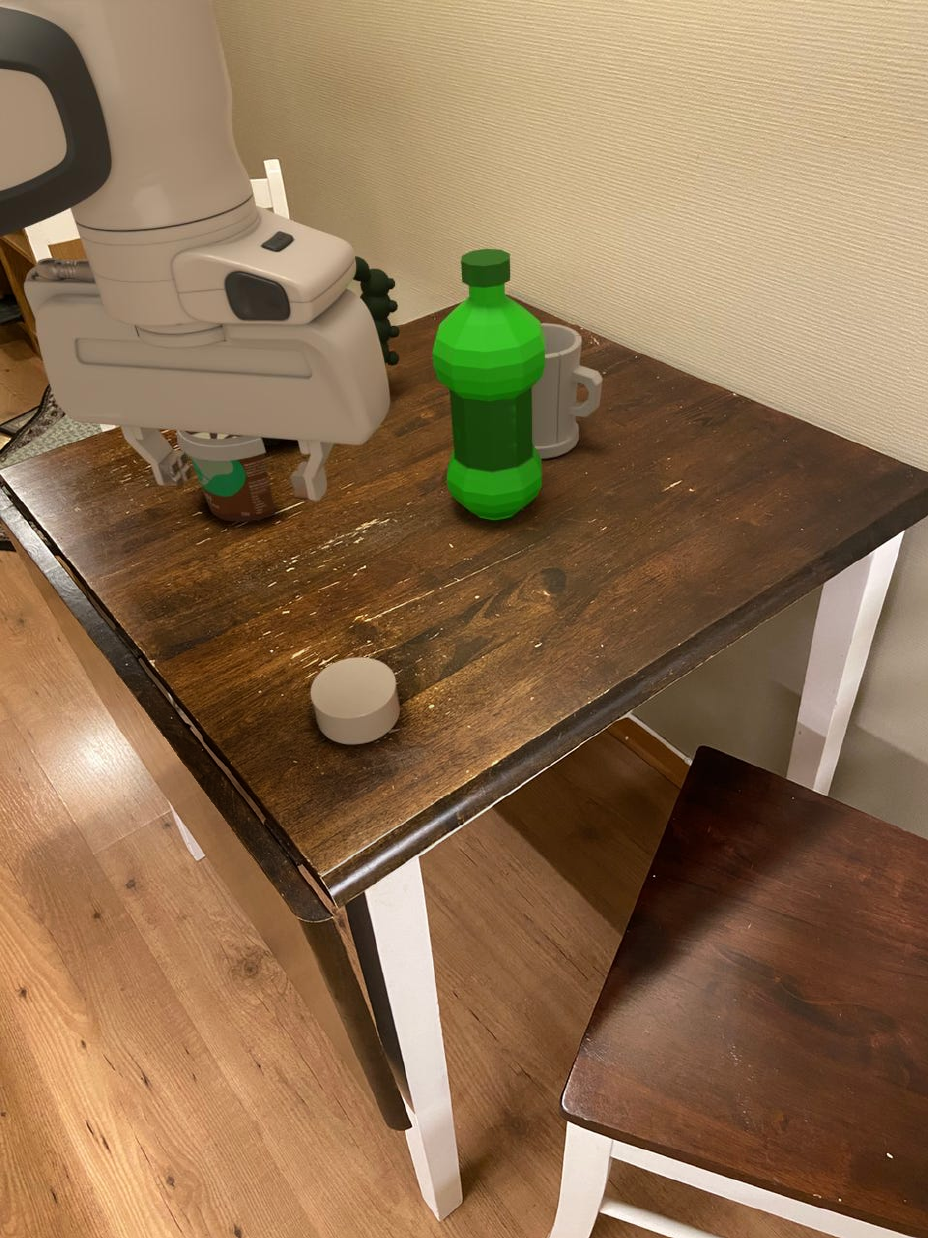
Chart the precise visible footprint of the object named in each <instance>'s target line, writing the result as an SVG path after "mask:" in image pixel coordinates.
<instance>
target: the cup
mask: <svg viewBox="0 0 928 1238" xmlns="http://www.w3.org/2000/svg"><path fill="white" fill-rule="evenodd" d="M540 323H541V322H540ZM541 326H542V328H543V331H544V333H545V366H544V371H543V375H542V377H541V378H540V379H539V380H538V381H537V382H536V383H535V384H534V385H533V386H532V443H533V445H534V446H535V448H536V449H537V451H538V453H539V455H540V457H541V460H545V459H546V460H547V459H551V458H557V457H559V456H563V455H565V454H566V453H568V452H569V451H571V450H572V449H574V448H575V447H576V445H577V444H578V442H579V440H580V429H579V424H578V422H577V421H576V417H580V418H581V417H582V418H587V417H589V416H590V415H591V414H592V413H593V412H595V411H596V410H598V409H599V407H600V405H601V396H602V388H603V387H602V386H603V380H604V379H603V376H602V375H601V374H600V372H599V371H598V370H596V369H592V368H589V367H586V366H584V365H581V364H580V361H581V355H582V354H581V352H582V345H583V344H582V343H583V340H582V336H581V334H579V332H578V331H577V330H576V329H573V328H571V327H569V326H566V325H562V324H558V323H549V322H548V323H546V322H543V323H541ZM578 383H579V384H582V385H584V387H585V388H586V391H588V396H587V399H586V400H585V401H584V402H581V401H577V393H578Z"/></svg>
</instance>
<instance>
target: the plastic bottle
mask: <svg viewBox="0 0 928 1238" xmlns="http://www.w3.org/2000/svg"><path fill="white" fill-rule="evenodd" d="M460 268H461V269H460V270H461V283H463V284H465V285H467V286H468V297H467V298H465V299H464V300H463V301H462V302H461V303H459V305H458V306H456V307H455V308H454V309H453V310H452V311H451V312H450V313H449V314H448V315H447V316H446V317H445V318H444V319H442V321H441V322H440V323H439V325H438V327H437V331H436V335H435V339H434V344H433V348H432V352H431V353H432V364H433V365H432V366H433V369H434V372H435V375H436V378H437V380H438V381H439V382H440V383H441V384H442V385H444V386H445V387H446V388H447V389H448V390H449V400H450V401H449V403H450V414H451V427H452V441H453V450H452V452H451V455H450V457H449V459H448V460H449V461H448V466H447V473H446V483H447V485H446V487H447V490H448V491H449V493H450V495H451V496H452V498H453V499H455V500H456V501H457V502H458V503H459V504H461V505H462V506H463V507H464V508H466V509H467V510H468V511H469V512H470V513H471V514H474V515H476V516H477V517H479V519H487V520H491V521H499V520H504V519H509V518H512V517H513V516H514V515H516V514H517V513H518V512H520V511H521V510H522V509H523V508H525V507H526V506H528V505H529V504H530V503H532V501H534V500H535V499H536V498H537V497H538V495H539V493H540V491H541V489H542V486H543V475H542V474H543V471H542V470H543V469H542V467H543V463H542V461H543V459H541V457H540V455H539V453H538V451H537V449H536V448H535V446H534V445H533V443H532V386H533V385H534V384H535V383H536V382H537V381H538V380H539V379H540V378H541V377H542V375H543V371H544V366H545V333H544V331H543V328H542V326H541V321H540V320H539V319H538V318H537V317H536V316H534V315H533V314H532V313H531V312H529V310H527V309H526V308H525V307H523V306H522V305H521V304H519V303H518V302H517V301H515V300H514V299H512V298H511V297H509V296H508V295H506V285H505V284H506V283H508V282H510V281H511V253H510V252H507V251H505V250H503V249H496V248H483V249H475V250H471V251H468V252H466V253H464V254H462V255H461V259H460Z"/></svg>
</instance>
